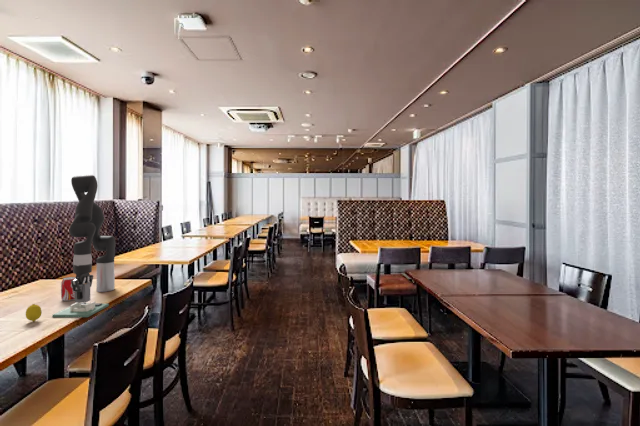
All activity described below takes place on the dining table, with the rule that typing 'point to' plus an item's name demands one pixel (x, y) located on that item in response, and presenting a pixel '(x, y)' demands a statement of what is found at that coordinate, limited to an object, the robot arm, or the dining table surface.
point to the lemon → (33, 312)
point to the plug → (84, 294)
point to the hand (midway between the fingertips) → (82, 297)
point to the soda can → (67, 289)
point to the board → (81, 310)
